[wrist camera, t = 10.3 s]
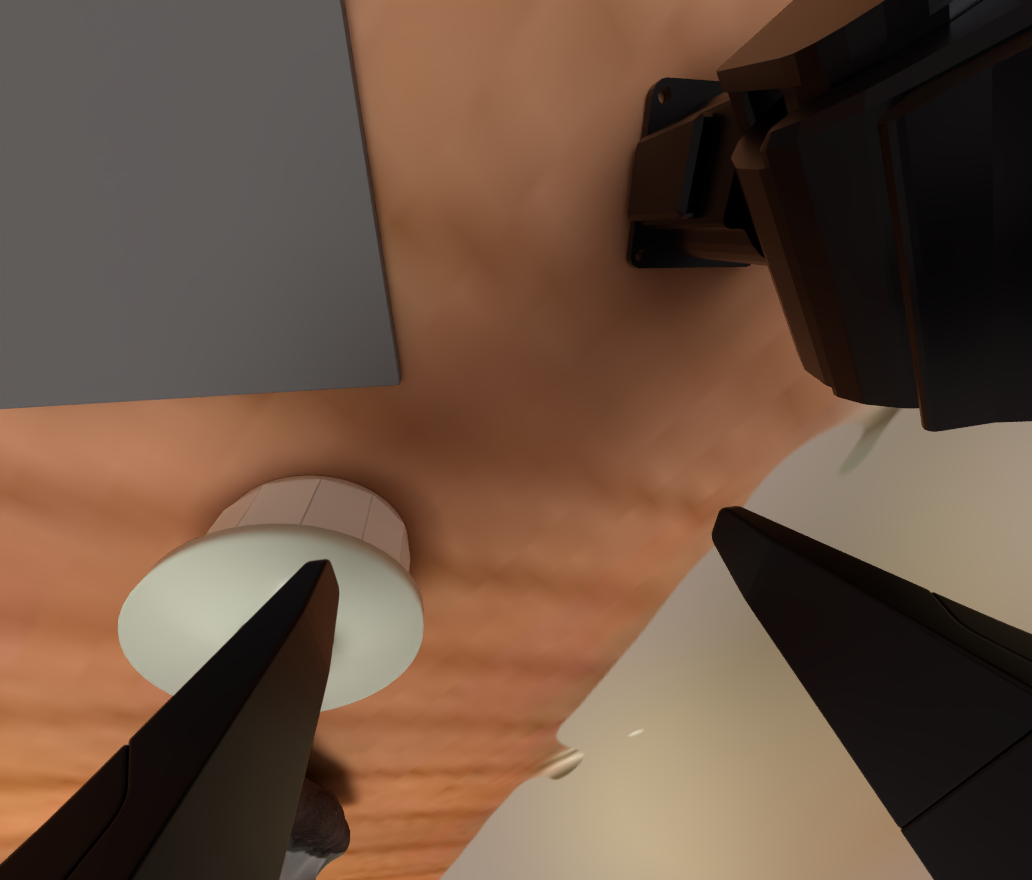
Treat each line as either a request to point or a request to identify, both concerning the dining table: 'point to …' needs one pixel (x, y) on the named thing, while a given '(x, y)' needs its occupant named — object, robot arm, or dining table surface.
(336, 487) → the bowl
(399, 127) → the dining table surface
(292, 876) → the rock
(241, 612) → the lid
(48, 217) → the mat
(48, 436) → the dining table surface
